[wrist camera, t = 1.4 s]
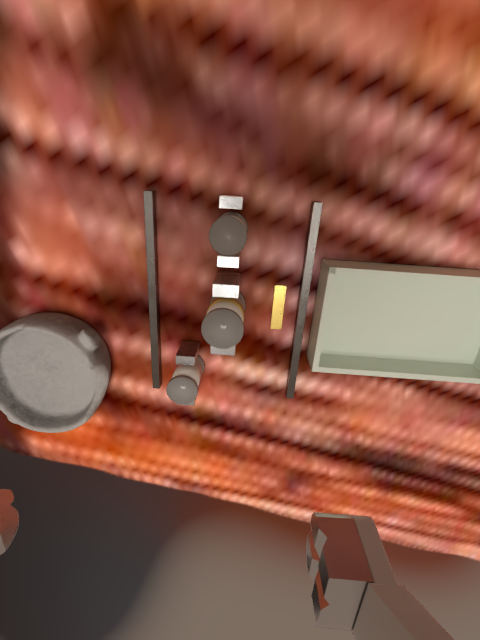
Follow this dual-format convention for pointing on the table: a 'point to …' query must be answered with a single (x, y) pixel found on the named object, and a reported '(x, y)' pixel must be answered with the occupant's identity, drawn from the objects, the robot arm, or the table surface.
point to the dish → (52, 372)
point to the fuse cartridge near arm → (229, 233)
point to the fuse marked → (224, 321)
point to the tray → (396, 321)
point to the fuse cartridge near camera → (185, 382)
